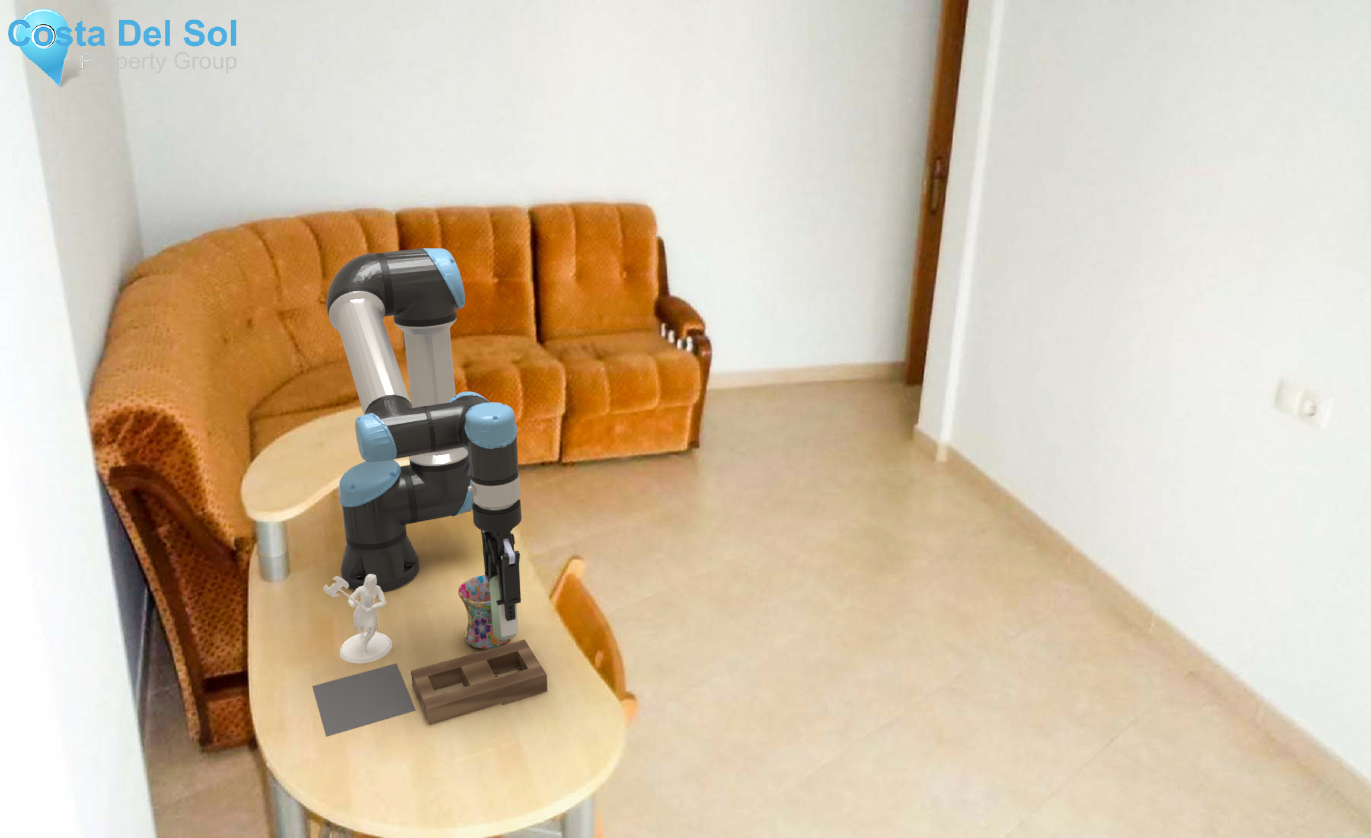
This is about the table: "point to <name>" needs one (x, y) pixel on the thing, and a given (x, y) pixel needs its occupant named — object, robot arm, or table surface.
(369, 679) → the rubber mat
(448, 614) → the table surface
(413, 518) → the robot arm
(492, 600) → the sage peg
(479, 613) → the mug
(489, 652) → the walnut hole block
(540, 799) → the table surface
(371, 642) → the figurine
